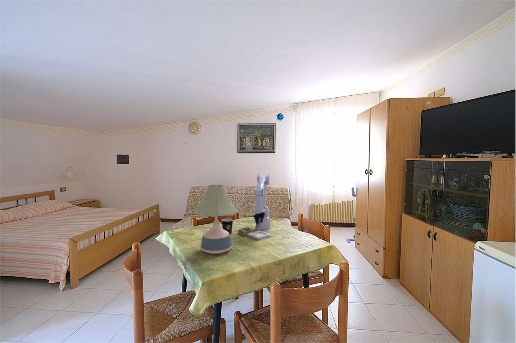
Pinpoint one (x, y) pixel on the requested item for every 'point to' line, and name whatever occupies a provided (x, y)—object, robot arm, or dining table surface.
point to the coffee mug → (227, 225)
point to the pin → (258, 224)
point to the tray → (259, 235)
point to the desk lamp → (216, 219)
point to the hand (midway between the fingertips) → (259, 223)
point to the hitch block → (245, 231)
